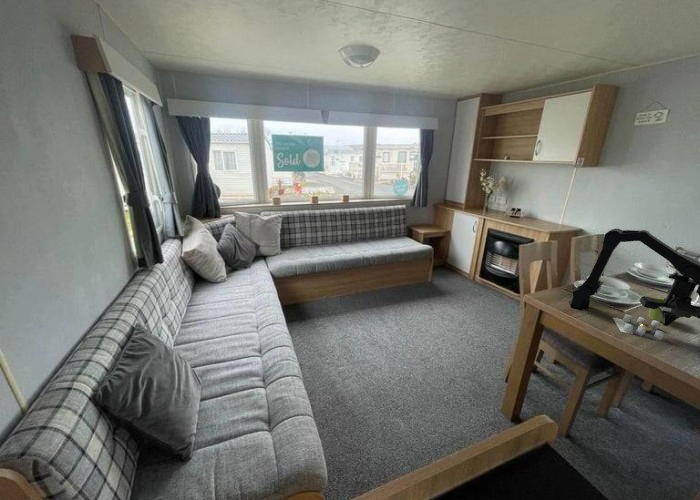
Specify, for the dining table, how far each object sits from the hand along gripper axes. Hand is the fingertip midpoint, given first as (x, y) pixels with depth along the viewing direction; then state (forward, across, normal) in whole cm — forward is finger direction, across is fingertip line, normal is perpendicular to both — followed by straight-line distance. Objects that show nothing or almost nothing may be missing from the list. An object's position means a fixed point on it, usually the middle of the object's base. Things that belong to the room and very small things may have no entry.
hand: (664, 325), depth 118 cm
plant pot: (+5, +4, +15) cm, 16 cm away
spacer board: (+5, -7, 0) cm, 9 cm away
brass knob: (+4, -5, 0) cm, 7 cm away
